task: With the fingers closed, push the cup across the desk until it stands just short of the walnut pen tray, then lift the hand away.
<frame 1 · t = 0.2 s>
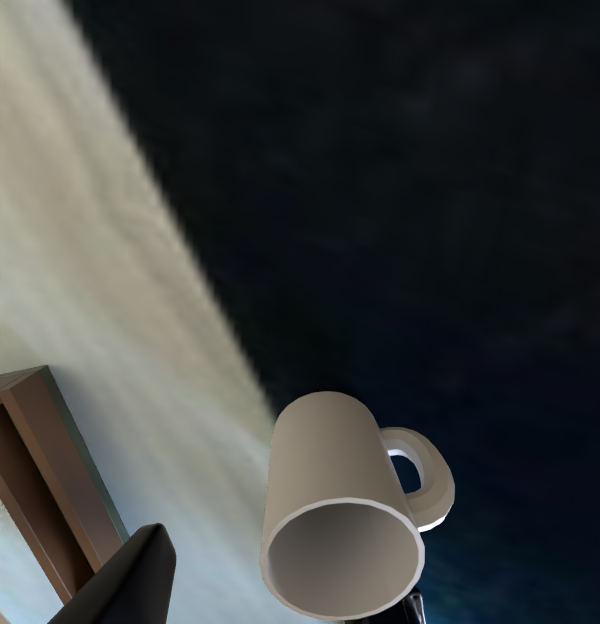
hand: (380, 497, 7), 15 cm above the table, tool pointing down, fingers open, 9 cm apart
pen tray: (74, 482, 24), on the table
cup: (344, 428, 24), on the table
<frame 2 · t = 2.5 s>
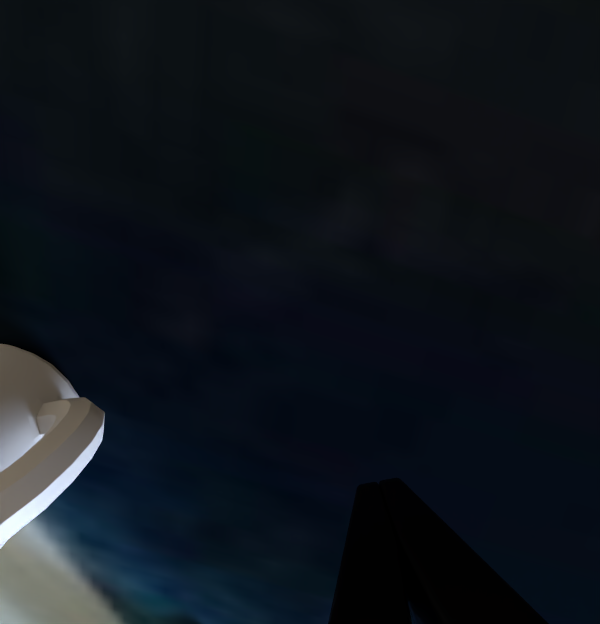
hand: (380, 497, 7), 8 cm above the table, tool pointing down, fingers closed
cup: (41, 403, 15), on the table
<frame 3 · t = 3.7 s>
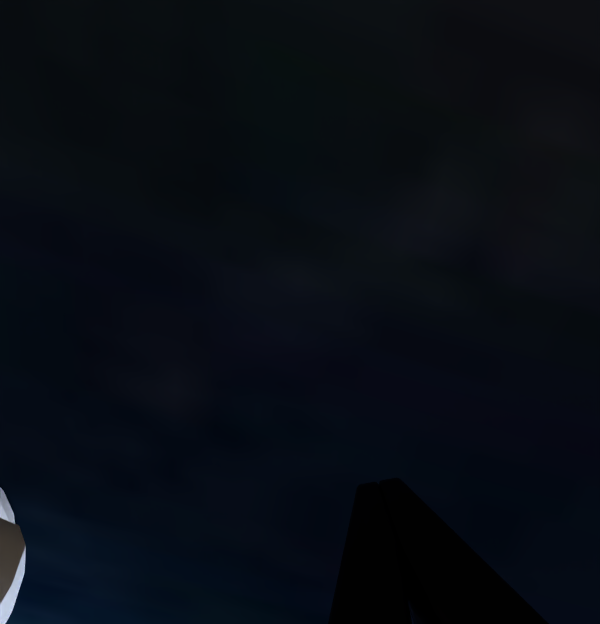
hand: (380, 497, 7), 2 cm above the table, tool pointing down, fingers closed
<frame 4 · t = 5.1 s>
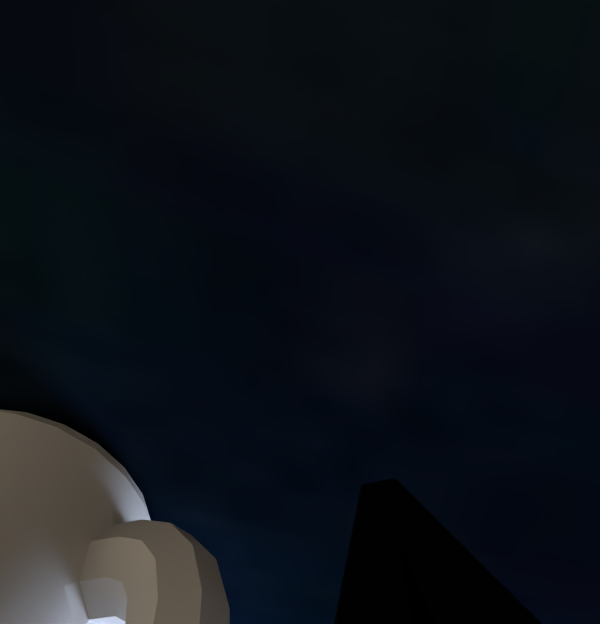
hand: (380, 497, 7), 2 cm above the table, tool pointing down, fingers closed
cup: (75, 504, 9), on the table, touching gripper
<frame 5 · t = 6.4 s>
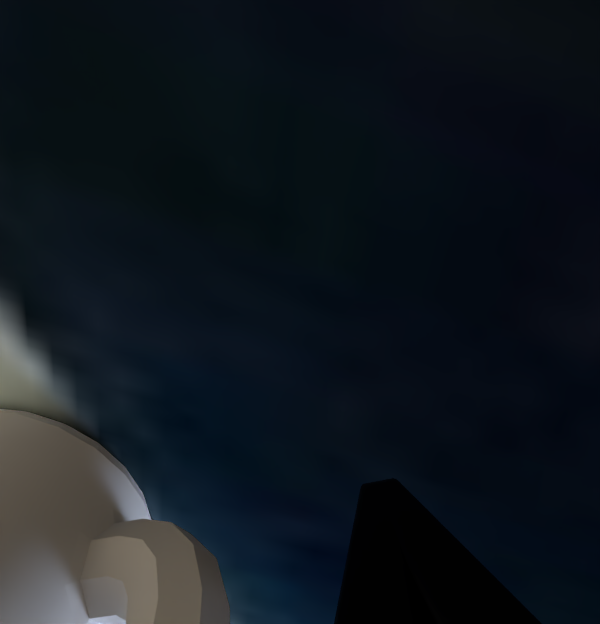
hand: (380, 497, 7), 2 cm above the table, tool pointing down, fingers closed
cup: (76, 503, 9), on the table, touching gripper
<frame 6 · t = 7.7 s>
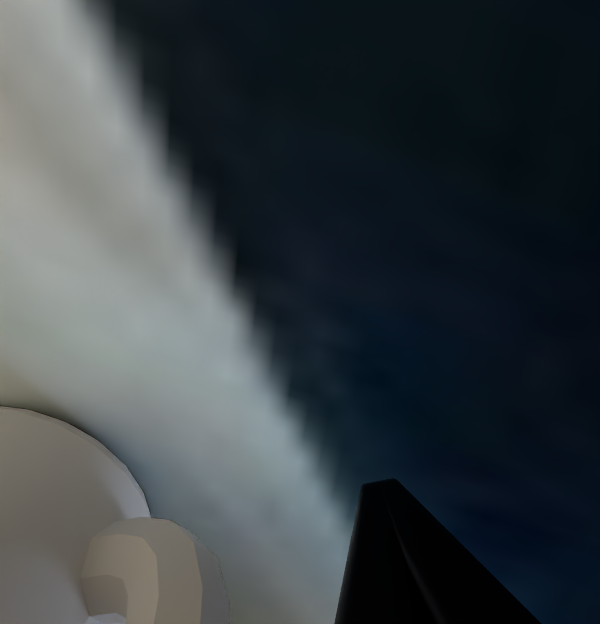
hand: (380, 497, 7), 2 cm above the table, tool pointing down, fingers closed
cup: (76, 501, 9), on the table, touching gripper
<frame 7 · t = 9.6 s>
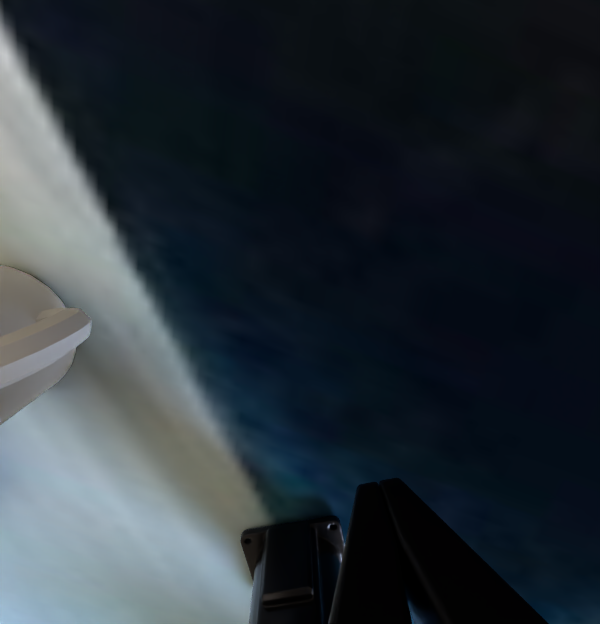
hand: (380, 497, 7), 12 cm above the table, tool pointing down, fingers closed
cup: (39, 322, 18), on the table
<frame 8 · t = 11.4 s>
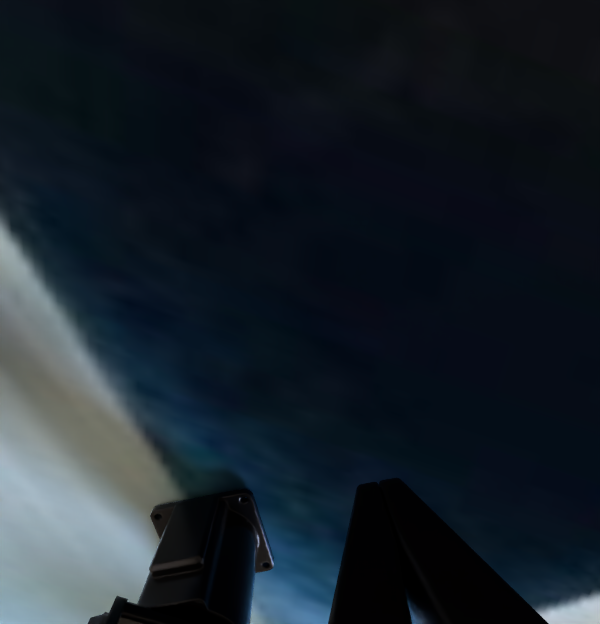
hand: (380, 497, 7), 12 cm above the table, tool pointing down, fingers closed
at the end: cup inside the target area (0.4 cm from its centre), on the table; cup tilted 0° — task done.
